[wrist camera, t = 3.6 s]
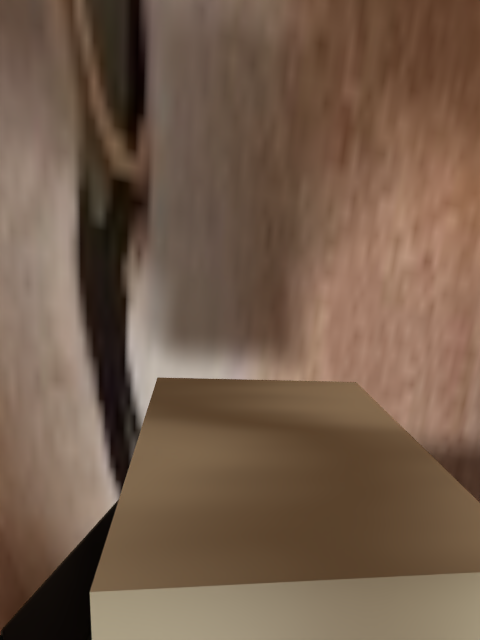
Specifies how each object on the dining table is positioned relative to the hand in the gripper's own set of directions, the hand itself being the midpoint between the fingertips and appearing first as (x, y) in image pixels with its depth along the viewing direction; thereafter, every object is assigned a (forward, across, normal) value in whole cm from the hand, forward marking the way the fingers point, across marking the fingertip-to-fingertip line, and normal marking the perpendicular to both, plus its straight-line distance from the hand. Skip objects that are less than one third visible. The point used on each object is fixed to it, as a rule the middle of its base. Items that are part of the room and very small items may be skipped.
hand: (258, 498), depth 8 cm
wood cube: (+1, 0, 0) cm, 1 cm away
